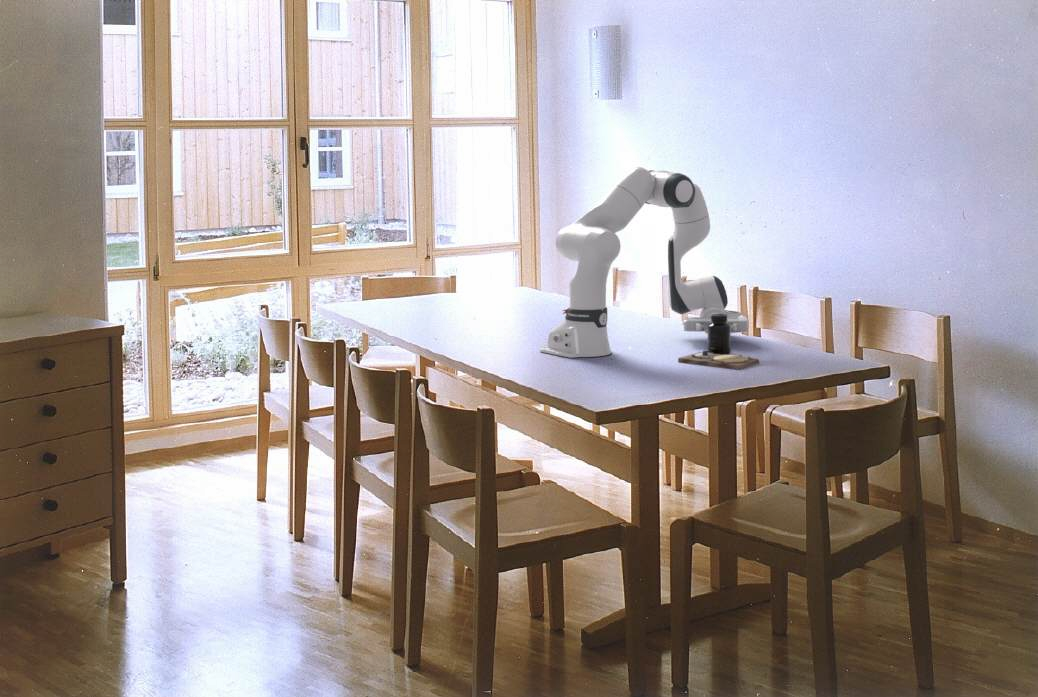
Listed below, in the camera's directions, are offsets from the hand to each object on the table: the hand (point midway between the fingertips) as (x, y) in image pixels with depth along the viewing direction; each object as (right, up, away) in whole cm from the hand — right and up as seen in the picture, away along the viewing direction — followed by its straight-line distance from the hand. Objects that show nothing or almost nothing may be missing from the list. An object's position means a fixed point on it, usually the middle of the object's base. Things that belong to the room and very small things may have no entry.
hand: (717, 328), depth 375 cm
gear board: (-3, -10, -21) cm, 24 cm away
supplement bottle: (-1, -8, -7) cm, 11 cm away
